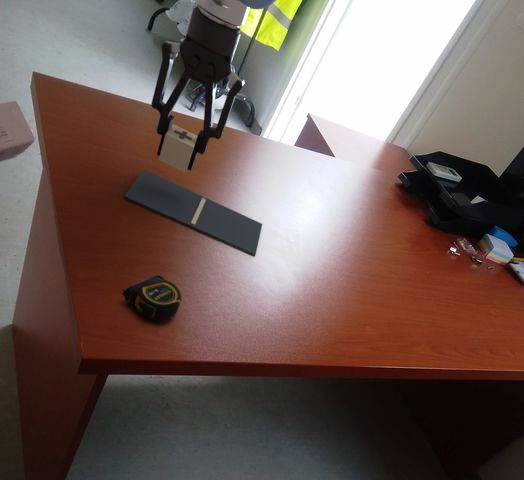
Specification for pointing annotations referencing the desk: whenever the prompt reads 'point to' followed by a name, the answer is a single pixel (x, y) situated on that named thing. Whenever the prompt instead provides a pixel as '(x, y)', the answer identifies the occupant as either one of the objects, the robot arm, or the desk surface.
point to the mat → (195, 212)
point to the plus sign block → (177, 148)
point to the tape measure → (154, 298)
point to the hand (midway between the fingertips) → (175, 159)
